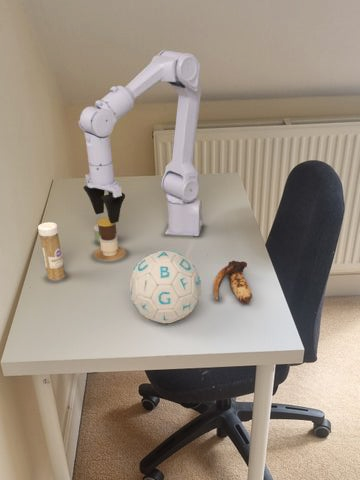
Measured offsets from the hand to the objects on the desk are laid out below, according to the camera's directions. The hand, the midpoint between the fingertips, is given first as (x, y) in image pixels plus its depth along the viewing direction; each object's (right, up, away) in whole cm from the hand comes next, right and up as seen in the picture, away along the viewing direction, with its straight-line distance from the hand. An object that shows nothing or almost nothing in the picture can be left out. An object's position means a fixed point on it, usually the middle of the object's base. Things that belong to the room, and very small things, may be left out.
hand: (106, 217), depth 149 cm
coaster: (0, -8, +6) cm, 10 cm away
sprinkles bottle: (-12, -16, -3) cm, 20 cm away
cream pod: (0, -8, +6) cm, 9 cm away
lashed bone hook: (+31, -21, -11) cm, 39 cm away
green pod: (-2, -3, +13) cm, 13 cm away
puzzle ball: (+16, -29, -20) cm, 38 cm away
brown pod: (0, -4, +3) cm, 5 cm away
